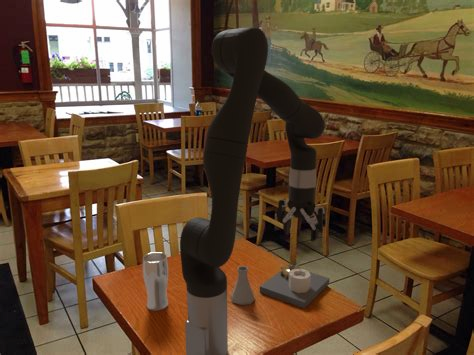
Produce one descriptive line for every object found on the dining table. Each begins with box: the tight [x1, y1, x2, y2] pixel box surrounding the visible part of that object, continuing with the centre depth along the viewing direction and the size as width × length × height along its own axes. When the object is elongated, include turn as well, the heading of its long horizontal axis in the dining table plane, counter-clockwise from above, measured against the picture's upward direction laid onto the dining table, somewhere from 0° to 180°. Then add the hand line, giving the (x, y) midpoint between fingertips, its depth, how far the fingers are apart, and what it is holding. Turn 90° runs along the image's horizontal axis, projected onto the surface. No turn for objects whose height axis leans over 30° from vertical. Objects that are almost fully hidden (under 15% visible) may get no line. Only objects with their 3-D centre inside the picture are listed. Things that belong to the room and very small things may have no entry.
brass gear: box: [279, 263, 305, 279], centre depth 131 cm, size 8×8×3 cm
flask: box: [230, 265, 256, 306], centre depth 119 cm, size 7×7×10 cm
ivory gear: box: [288, 268, 311, 293], centre depth 122 cm, size 6×6×4 cm
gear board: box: [259, 270, 330, 309], centre depth 126 cm, size 17×15×6 cm
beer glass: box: [142, 251, 169, 312], centre depth 116 cm, size 7×7×15 cm
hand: (300, 237), depth 119 cm, fingers open, 8 cm apart
